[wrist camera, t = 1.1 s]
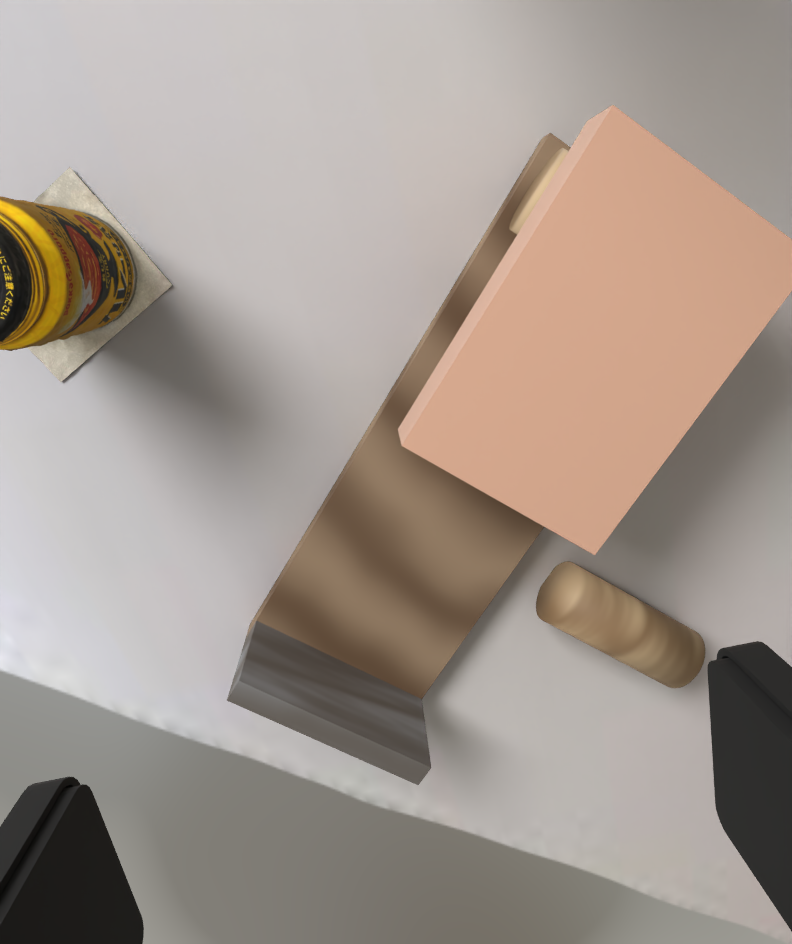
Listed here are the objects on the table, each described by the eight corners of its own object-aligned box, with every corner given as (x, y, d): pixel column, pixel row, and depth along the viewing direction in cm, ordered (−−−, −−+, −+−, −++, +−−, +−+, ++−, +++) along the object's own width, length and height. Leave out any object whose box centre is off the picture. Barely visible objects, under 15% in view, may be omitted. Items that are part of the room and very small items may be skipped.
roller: (559, 554, 42) (587, 572, 38) (678, 620, 44) (715, 644, 40) (528, 607, 42) (552, 630, 38) (647, 670, 44) (682, 699, 40)
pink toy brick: (558, 138, 32) (612, 104, 25) (725, 258, 34) (816, 257, 27) (393, 410, 36) (401, 445, 29) (552, 502, 38) (594, 555, 31)
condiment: (173, 284, 35) (82, 296, 23) (62, 381, 36) (-75, 437, 25) (71, 167, 33) (-82, 117, 21) (-43, 274, 34) (-244, 281, 23)
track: (542, 138, 33) (591, 105, 26) (716, 263, 36) (804, 264, 29) (249, 624, 41) (227, 700, 34) (408, 699, 44) (418, 785, 37)
